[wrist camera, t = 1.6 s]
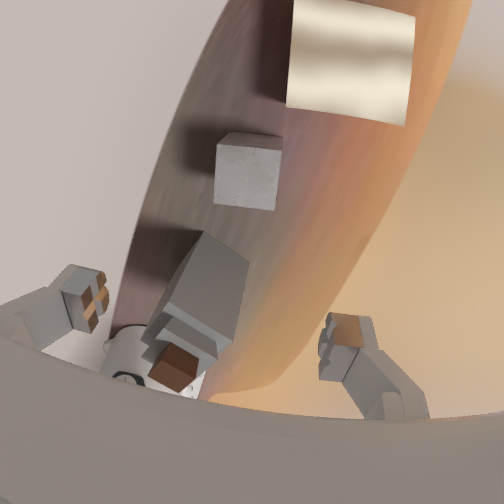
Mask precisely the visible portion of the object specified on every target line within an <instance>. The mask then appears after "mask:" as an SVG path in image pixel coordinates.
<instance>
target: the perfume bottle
mask: <svg viewBox="0 0 504 504" xmlns="http://www.w3.org/2000/svg"><path fill="white" fill-rule="evenodd" d="M248 267H249V262H248V261H247V260H245V259H244V258H242V257H241V256H239V255H238V254H236V253H235V252H233V251H232V250H231V249H229V248H228V247H226V246H225V245H223V244H222V243H220V242H219V241H217V240H216V239H215V238H213V237H212V236H210V235H209V234H207V233H206V232H203V233H202V235H201V236H200V237H199V239H198V240H197V241H196V243H195V244H194V246H193V247H192V248H191V250H190V251H189V252H188V254H187V255H186V256H185V258H184V259H183V261H182V262H181V263H180V265H179V266H178V267H177V269H176V271H175V273H174V275H173V277H172V279H171V280H170V282H169V284H168V286H167V288H166V290H165V292H164V294H163V296H162V298H161V300H160V301H159V303H158V305H157V307H156V309H155V311H154V313H153V315H152V317H151V319H150V321H149V323H148V325H147V327H146V329H145V331H144V333H143V335H142V337H141V339H140V341H142V342H143V343H145V344H147V345H148V346H149V347H148V348H147V349H146V351H145V352H144V353H143V354H142V356H141V358H143V359H145V360H146V361H148V362H150V363H151V364H153V366H152V368H151V369H150V371H149V373H148V375H147V376H148V377H149V378H151V379H153V380H155V381H157V382H158V383H160V384H162V385H164V386H166V387H167V388H169V389H171V390H173V391H175V392H177V393H180V392H181V391H182V390H183V389H185V388H186V387H187V386H188V385H189V384H190V383H192V382H193V381H194V380H195V379H196V378H197V377H199V376H200V375H201V374H202V373H203V372H204V371H206V370H207V369H208V368H209V367H210V366H211V365H213V364H214V363H215V362H216V361H217V360H218V354H219V353H220V352H222V351H223V350H224V349H225V348H226V347H227V346H228V345H229V344H230V343H232V342H233V339H234V334H235V329H236V324H237V320H238V315H239V310H240V305H241V301H242V296H243V291H244V286H245V282H246V277H247V272H248Z"/></svg>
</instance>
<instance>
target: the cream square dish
mask: <svg viewBox="0 0 504 504" xmlns="http://www.w3.org/2000/svg"><path fill="white" fill-rule="evenodd" d="M414 34H415V17H413V16H409V15H406V14H402V13H399V12H395V11H392V10H388V9H384V8H380V7H376V6H371V5H367V4H362V3H358V2H353V1H347V0H294V10H293V24H292V37H291V50H290V62H289V74H288V86H287V98H286V107H290V108H299V109H308V110H315V111H323V112H330V113H336V114H343V115H349V116H355V117H360V118H366V119H371V120H376V121H381V122H386V123H391V124H395V125H400V126H404V124H405V117H406V111H407V104H408V96H409V88H410V80H411V70H412V60H413V48H414Z"/></svg>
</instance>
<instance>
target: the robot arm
mask: <svg viewBox="0 0 504 504" xmlns="http://www.w3.org/2000/svg"><path fill="white" fill-rule="evenodd" d="M105 283H106V276H105V274H104V272H102V271H98V270H94V269H90V268H86V267H81V266H77V265H74V264H70V265H68V266H67V267H66V268H65V269H64V270H63V271H62V272H61V273H60V274H59V276H58V277H57V278H56V279H55V280H54V281H53V282H52V283H51V284H50V286H49V287H43V288H41V289H38V290H36V291H33V292H31V293H28V294H26V295H24V296H21V297H19V298H17V299H14V300H12V301H10V302H8V303H5V304H3V305H1V306H0V504H504V411H501V412H495V413H489V414H481V415H472V416H463V417H450V418H435V419H430V416H429V412H428V407H427V403H426V399H425V395H424V392H423V391H422V390H421V389H420V388H419V387H418V386H417V385H416V384H415V383H414V382H413V381H412V380H411V379H410V377H409V376H408V375H406V373H405V372H404V371H403V370H402V369H401V368H400V367H399V366H398V365H397V364H396V363H395V362H394V361H393V360H392V359H391V358H390V357H389V356H388V355H387V354H386V353H385V352H384V351H383V350H379V348H378V343H377V339H376V335H375V331H374V327H373V322H372V319H371V318H370V317H369V316H359V315H348V314H340V313H332V312H329V313H328V315H327V318H326V327H325V328H324V329H322V332H321V335H320V338H319V343H318V355H319V356H320V358H321V360H320V363H319V379H320V380H327V381H336V382H342V384H343V386H344V387H345V389H346V390H347V392H348V393H349V395H350V396H351V398H352V399H353V401H354V402H355V404H356V405H357V407H358V408H359V410H360V411H361V413H362V414H363V416H364V417H365V418H364V419H341V418H325V417H313V416H302V415H291V414H283V413H275V412H267V411H260V410H253V409H246V408H240V407H234V406H228V405H223V404H218V403H212V402H207V401H203V400H198V399H197V398H198V395H199V392H200V388H201V385H202V382H203V379H204V376H205V373H206V371H204V372H203V373H202V374H201V375H200V376H199V377H197V378H196V379H195V380H194V381H193V382H192V383H190V384H189V385H188V386H187V387H186V388H185V389H183V390H182V391H181V392H180V393H177V392H175V391H173V390H171V389H169V388H167V387H166V386H164V385H162V384H160V383H158V382H157V381H155V380H153V379H151V378H149V377H148V376H147V375H148V373H149V371H150V369H151V368H152V366H153V364H151V363H150V362H148V361H146V360H145V359H143V358H141V356H142V354H143V353H144V352H145V351H146V349H147V348H148V347H149V346H148V345H147V344H145V343H143V342H142V341H140V339H141V337H142V335H143V333H144V331H145V329H146V327H145V326H130V327H126V328H123V329H122V330H120V331H119V332H118V333H117V335H116V336H115V337H114V338H113V339H110V340H107V341H105V343H104V345H103V349H104V351H105V356H104V358H103V360H102V363H101V365H100V367H99V370H98V372H94V371H91V370H88V369H86V368H82V367H80V366H77V365H74V364H72V363H69V362H66V361H64V360H61V359H58V358H56V357H53V356H51V355H48V354H46V353H43V352H41V350H42V349H44V348H46V347H47V346H48V345H50V344H51V343H53V342H55V341H56V340H58V339H59V338H61V337H62V336H64V335H65V334H67V333H68V332H70V331H72V330H73V329H76V330H79V331H83V332H87V333H90V334H91V333H92V332H93V330H94V328H95V327H96V325H97V324H98V322H99V321H98V317H99V316H101V315H103V314H104V313H105V311H106V310H107V307H108V304H109V291H108V289H107V288H106V287H105V285H104V284H105Z"/></svg>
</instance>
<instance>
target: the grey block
mask: <svg viewBox="0 0 504 504" xmlns="http://www.w3.org/2000/svg"><path fill="white" fill-rule="evenodd" d="M282 144H283V137H276V136H268V135H259V134H250V133H240V132H230V133H228V134H227V135H226V136H225V137H224V138H223V139H222V140H221V141H220V142H219V143H218V144H217V150H216V167H215V185H214V204H223V205H232V206H240V207H248V208H256V209H264V210H272V211H274V209H275V202H276V194H277V186H278V178H279V170H280V162H281V154H282Z"/></svg>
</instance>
